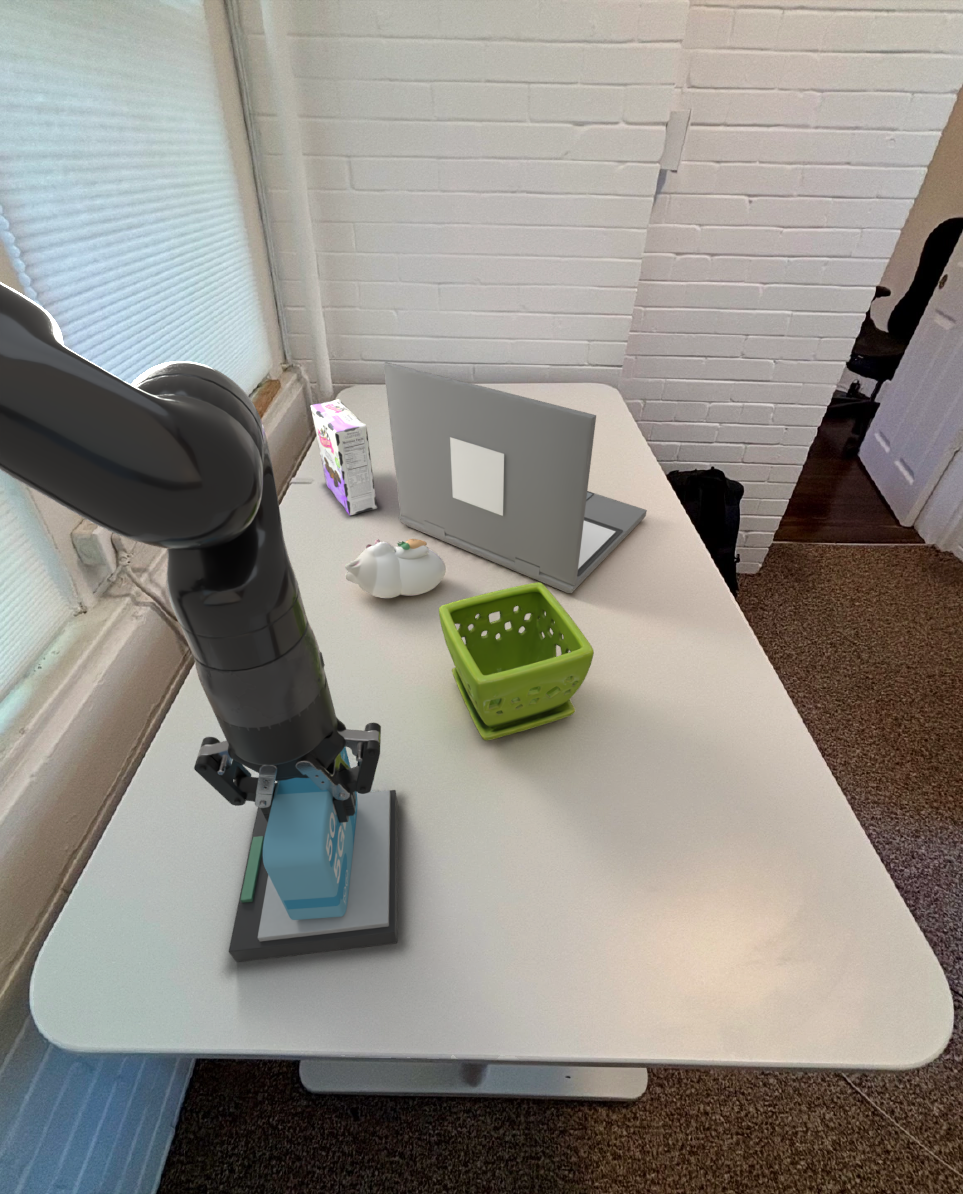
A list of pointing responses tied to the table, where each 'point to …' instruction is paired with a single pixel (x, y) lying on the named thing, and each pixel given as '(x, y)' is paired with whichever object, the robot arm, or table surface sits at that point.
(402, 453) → the laptop
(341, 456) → the candy box
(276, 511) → the robot arm
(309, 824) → the blue rounded block
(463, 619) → the flower pot
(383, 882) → the scale
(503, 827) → the table surface
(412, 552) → the cat figurine
